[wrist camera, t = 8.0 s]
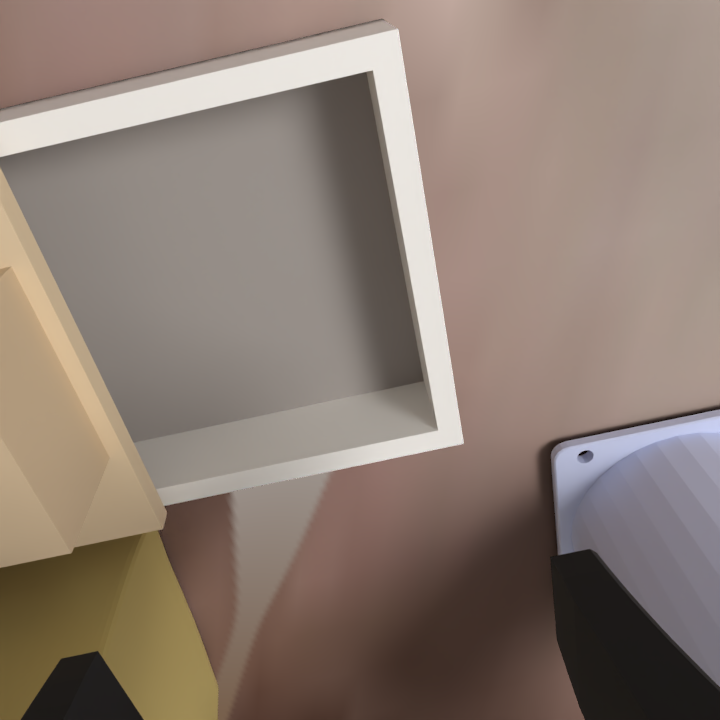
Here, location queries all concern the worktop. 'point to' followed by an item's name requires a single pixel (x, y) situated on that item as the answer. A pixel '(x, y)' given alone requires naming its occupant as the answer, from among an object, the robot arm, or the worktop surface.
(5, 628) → the cheese
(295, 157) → the box
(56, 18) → the worktop surface
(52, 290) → the lid
